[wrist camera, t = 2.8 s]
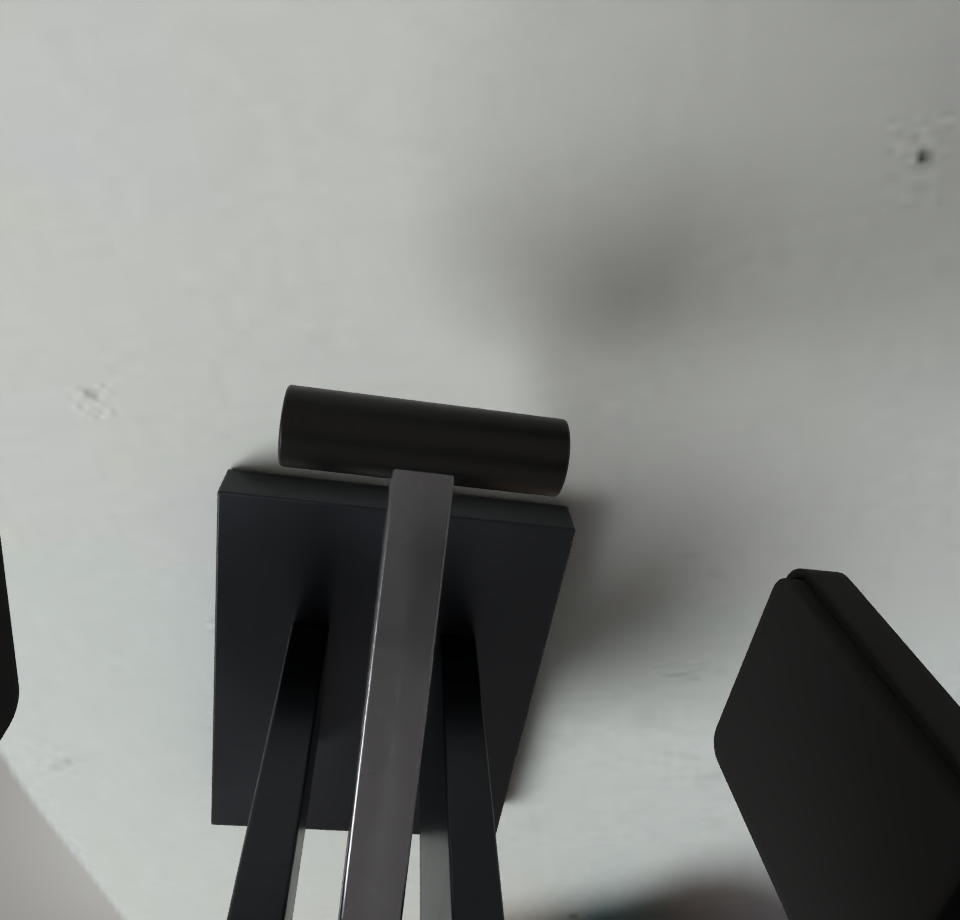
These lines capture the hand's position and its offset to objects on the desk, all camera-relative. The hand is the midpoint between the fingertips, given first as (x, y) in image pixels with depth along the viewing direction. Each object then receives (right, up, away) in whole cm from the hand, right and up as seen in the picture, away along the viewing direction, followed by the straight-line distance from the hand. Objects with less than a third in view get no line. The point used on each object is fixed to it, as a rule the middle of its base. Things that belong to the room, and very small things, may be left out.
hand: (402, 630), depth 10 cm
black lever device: (-2, -4, +14) cm, 14 cm away
